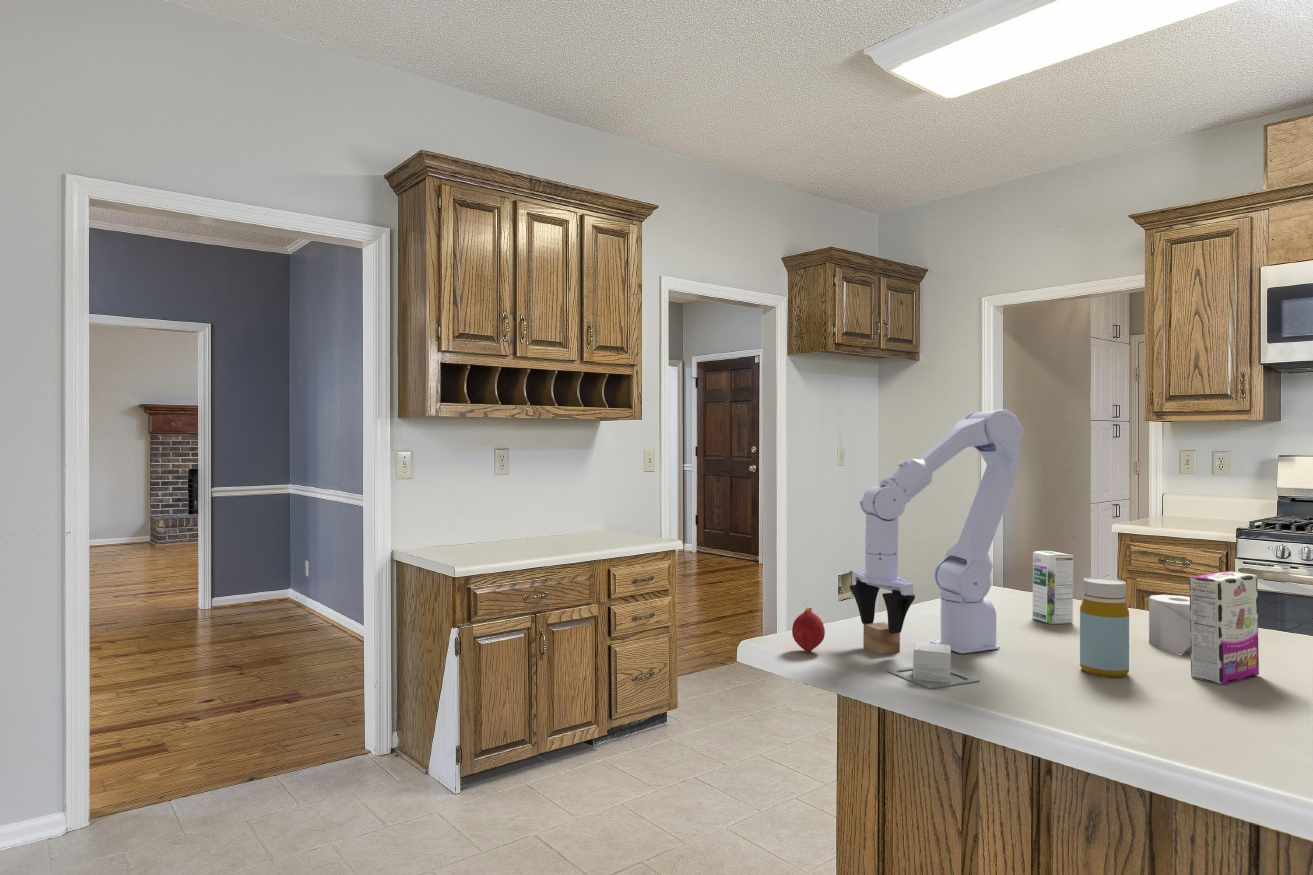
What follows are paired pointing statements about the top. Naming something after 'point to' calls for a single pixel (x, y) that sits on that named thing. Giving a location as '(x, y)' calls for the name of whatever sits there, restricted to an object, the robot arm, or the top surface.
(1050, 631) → the top surface
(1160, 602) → the toilet tissue
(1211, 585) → the candy bar box
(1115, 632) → the bottle
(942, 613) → the robot arm
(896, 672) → the gray square frame
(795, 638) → the onion
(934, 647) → the small box
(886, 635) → the walnut cube
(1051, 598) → the syrup box
